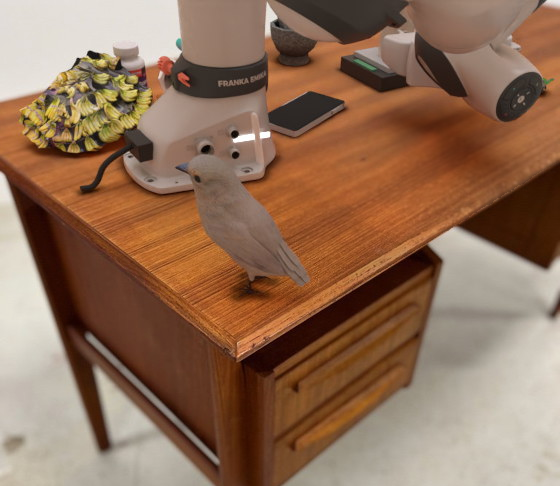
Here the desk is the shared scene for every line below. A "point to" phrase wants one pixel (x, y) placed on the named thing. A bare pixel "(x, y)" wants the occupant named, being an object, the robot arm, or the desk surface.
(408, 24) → the cup
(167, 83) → the long cone
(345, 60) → the scale
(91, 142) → the banana patterned fabric
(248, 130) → the robot arm
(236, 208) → the bird
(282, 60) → the mortar and pestle
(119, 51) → the pill bottle
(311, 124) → the smartphone
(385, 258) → the desk surface
